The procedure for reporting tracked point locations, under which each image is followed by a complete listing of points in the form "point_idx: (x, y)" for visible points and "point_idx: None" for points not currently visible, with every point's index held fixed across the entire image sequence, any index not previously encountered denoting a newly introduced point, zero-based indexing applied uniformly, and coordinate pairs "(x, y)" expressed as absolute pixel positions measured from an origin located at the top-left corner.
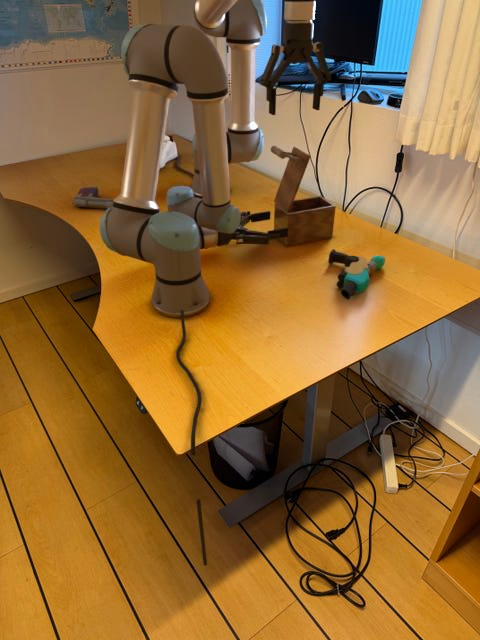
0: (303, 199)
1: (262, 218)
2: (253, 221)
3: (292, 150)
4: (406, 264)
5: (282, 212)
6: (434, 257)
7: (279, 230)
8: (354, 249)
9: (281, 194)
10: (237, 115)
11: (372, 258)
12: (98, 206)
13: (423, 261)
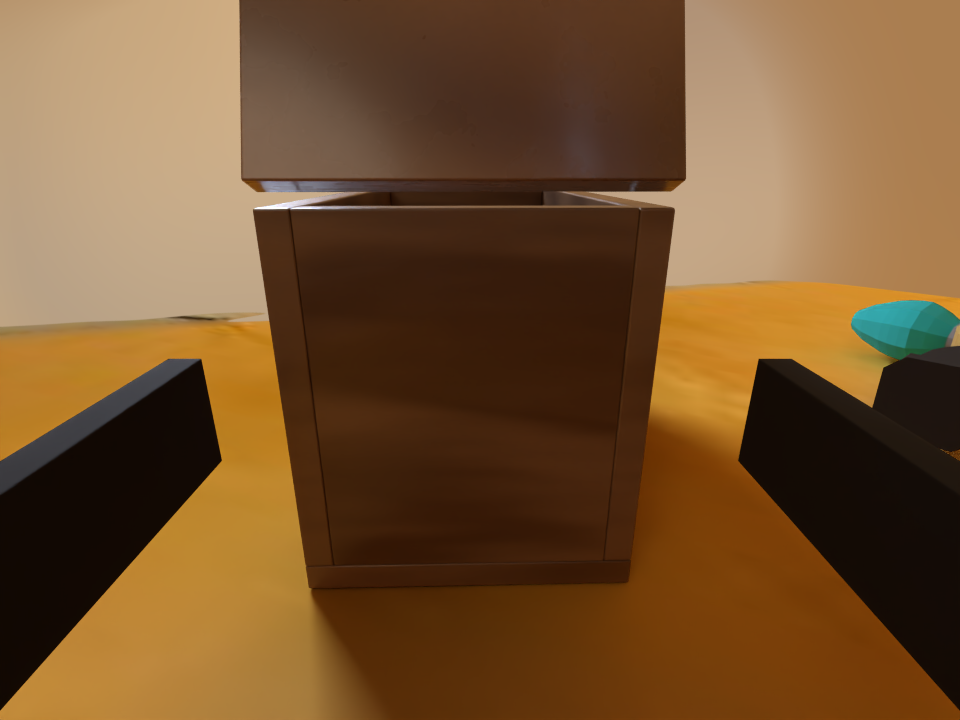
0: (367, 192)
1: (146, 500)
2: (16, 669)
3: None
4: (821, 322)
5: (512, 244)
6: (752, 293)
7: (882, 421)
8: (696, 362)
9: (378, 18)
10: None
11: (928, 318)
12: None
13: (786, 304)
